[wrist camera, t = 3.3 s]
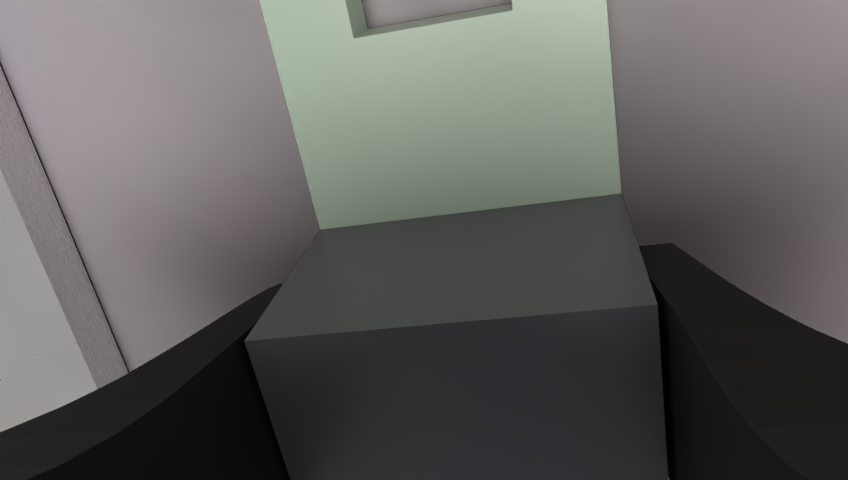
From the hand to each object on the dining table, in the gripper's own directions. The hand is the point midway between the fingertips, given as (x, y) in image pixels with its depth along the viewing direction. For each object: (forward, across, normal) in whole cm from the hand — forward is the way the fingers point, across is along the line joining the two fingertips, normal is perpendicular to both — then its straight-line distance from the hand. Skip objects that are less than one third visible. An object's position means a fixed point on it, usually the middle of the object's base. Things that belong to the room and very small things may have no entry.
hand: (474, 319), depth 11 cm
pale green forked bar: (+2, 0, 0) cm, 2 cm away
